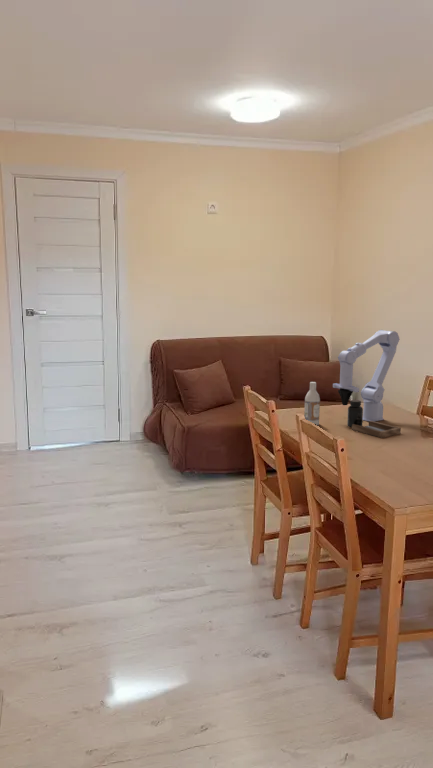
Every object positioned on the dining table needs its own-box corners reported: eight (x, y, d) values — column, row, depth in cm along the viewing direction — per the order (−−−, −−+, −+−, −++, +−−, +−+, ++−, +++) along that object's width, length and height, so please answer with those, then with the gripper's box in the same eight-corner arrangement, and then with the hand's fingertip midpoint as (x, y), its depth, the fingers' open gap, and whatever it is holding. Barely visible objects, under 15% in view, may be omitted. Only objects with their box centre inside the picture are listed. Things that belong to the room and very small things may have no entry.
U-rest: (370, 425, 273) (370, 420, 272) (400, 433, 260) (400, 428, 259) (351, 430, 265) (352, 424, 265) (381, 438, 252) (381, 432, 252)
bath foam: (311, 426, 271) (312, 384, 267) (301, 423, 276) (302, 381, 273) (322, 424, 274) (323, 382, 271) (311, 421, 280) (313, 380, 276)
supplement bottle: (361, 424, 275) (362, 399, 273) (363, 428, 269) (364, 402, 266) (346, 424, 276) (347, 399, 274) (348, 427, 269) (349, 402, 267)
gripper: (328, 375, 277) (327, 403, 279) (352, 379, 265) (350, 408, 268) (339, 373, 281) (337, 401, 283) (362, 378, 269) (361, 406, 272)
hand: (344, 404), depth 276 cm, fingers closed
